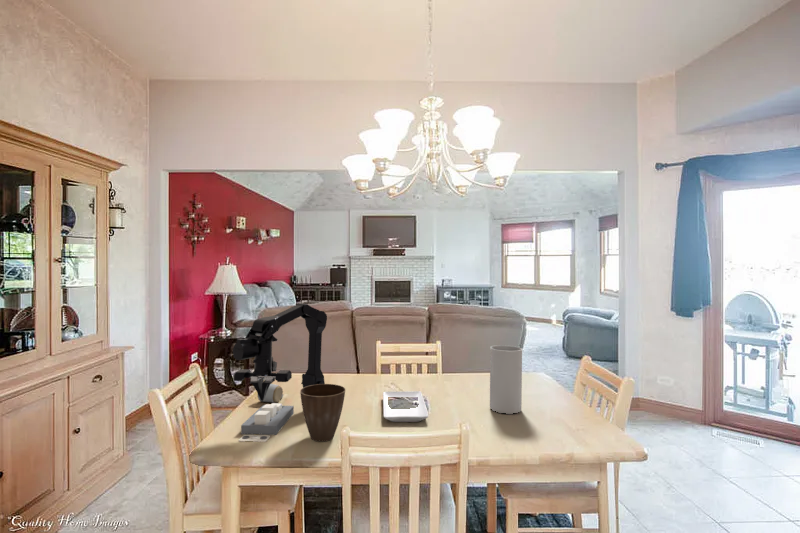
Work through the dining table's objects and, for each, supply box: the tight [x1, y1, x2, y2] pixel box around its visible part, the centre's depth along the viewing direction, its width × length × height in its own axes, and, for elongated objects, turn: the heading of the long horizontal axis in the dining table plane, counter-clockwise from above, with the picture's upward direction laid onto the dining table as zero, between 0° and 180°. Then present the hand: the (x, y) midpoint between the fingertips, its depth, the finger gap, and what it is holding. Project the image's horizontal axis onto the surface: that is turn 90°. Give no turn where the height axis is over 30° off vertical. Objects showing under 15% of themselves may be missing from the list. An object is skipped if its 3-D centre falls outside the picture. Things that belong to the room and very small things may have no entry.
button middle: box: [261, 403, 277, 418], centre depth 153 cm, size 4×4×4 cm
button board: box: [240, 404, 295, 436], centre depth 153 cm, size 12×21×3 cm, turn 178°
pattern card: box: [237, 434, 272, 443], centre depth 139 cm, size 9×5×1 cm, turn 88°
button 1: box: [254, 411, 270, 425], centre depth 146 cm, size 4×4×4 cm
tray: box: [382, 390, 429, 423], centre depth 169 cm, size 17×32×4 cm, turn 3°
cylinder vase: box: [489, 344, 523, 415], centre depth 171 cm, size 12×12×25 cm
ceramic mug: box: [257, 383, 284, 404], centre depth 179 cm, size 11×8×8 cm
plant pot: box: [299, 383, 346, 443], centre depth 141 cm, size 15×15×16 cm
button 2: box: [271, 402, 283, 411], centre depth 160 cm, size 4×4×4 cm
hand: (262, 400), depth 146 cm, fingers closed
